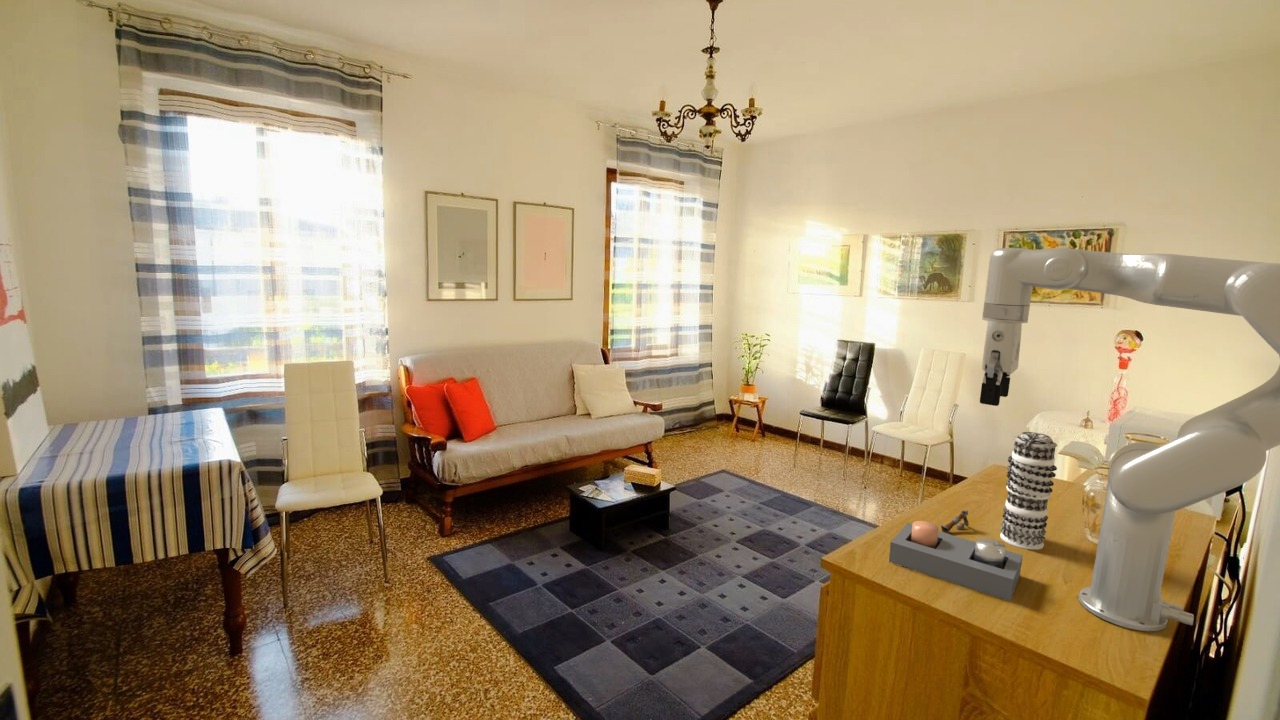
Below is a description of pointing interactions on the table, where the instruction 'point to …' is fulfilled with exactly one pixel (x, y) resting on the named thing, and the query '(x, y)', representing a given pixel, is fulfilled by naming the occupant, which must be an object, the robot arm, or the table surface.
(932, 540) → the terracotta plunger
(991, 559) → the cream short cylinder
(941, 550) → the button housing
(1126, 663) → the table surface
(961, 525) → the wooden post with brackets
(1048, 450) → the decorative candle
